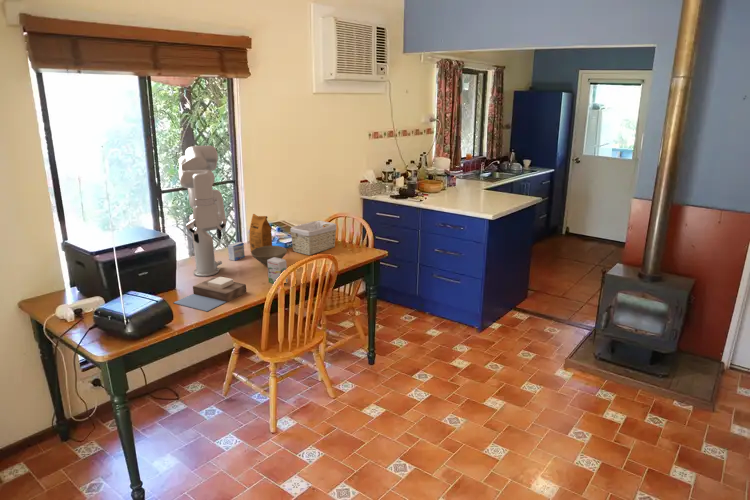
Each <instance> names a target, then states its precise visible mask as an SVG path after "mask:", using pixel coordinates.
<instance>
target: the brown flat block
mask: <svg viewBox="0 0 750 500" xmlns="http://www.w3.org/2000/svg"><path fill="white" fill-rule="evenodd" d="M216 278H217V277H212V278H209V279H207V280H204V281H202V282H200V283H198V284H197V283H196V284H195V285H193V286H192V292H193V293H192V294H196V295H200V296H204V297H209V298H213V299H217V300H221V301H226V303H228V302H230V301H232V300H234V299H237V298H238V297H240V296H243V295H244V294H247V284H245V283H242V282H235V281H233V282H234V283H233V284H231V285H229V286H227V287H224V288H222V289H219V288H215V287H210V286H208V282H209V281H211V280H213V279H216Z"/></svg>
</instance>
